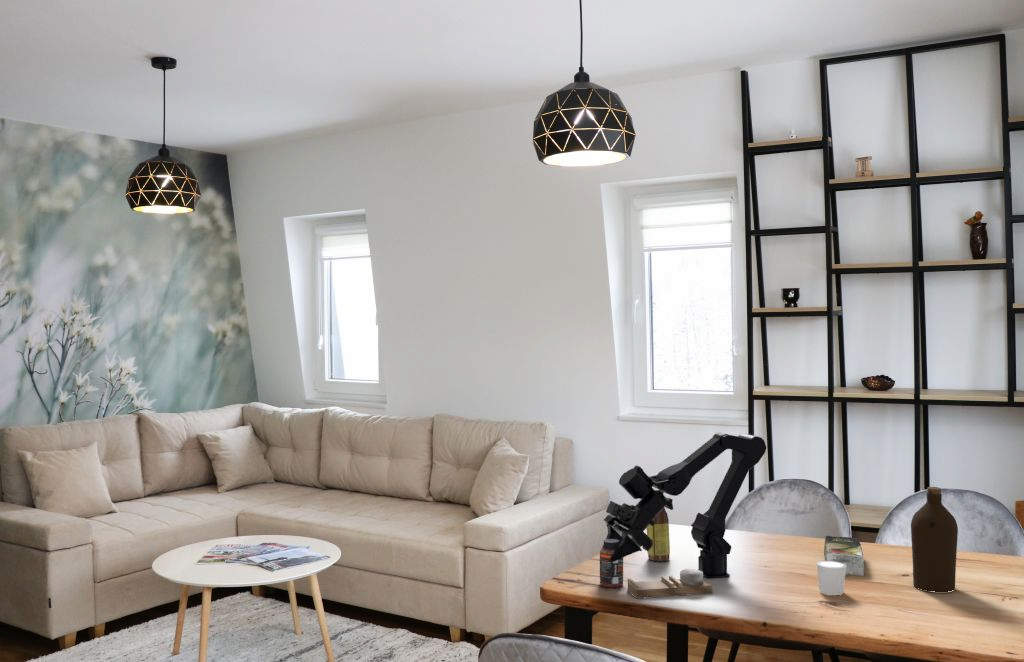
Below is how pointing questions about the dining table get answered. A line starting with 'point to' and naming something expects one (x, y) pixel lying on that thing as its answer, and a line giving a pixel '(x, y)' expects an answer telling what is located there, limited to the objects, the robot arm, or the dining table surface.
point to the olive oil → (934, 545)
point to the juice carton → (845, 553)
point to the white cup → (831, 577)
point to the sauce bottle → (659, 536)
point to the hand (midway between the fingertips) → (606, 557)
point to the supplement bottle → (610, 565)
